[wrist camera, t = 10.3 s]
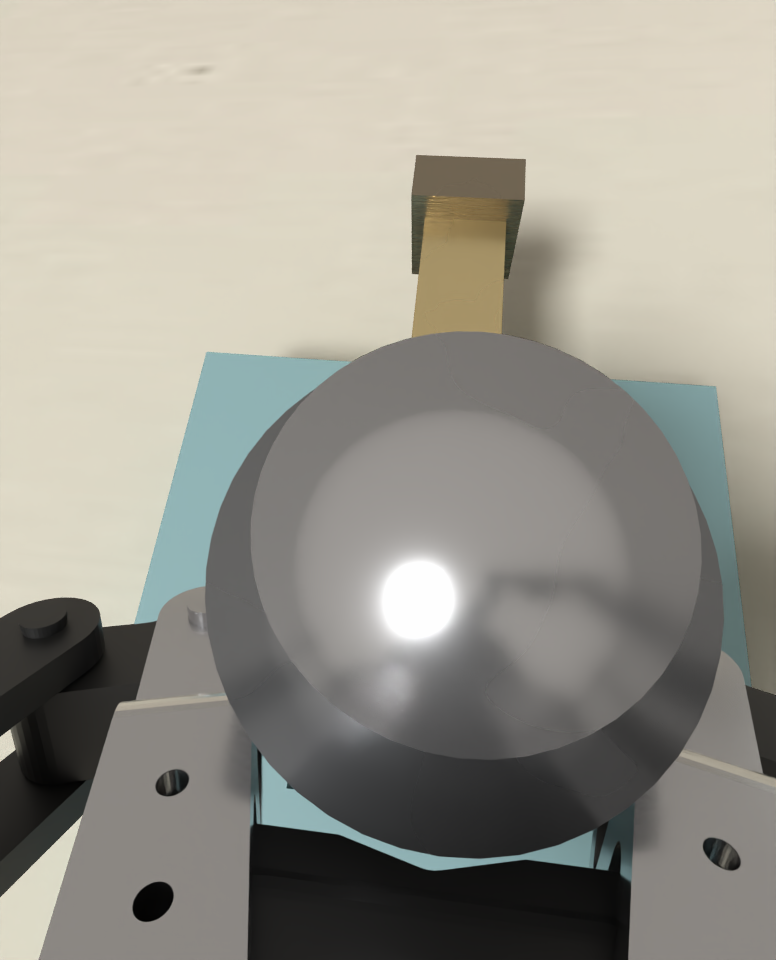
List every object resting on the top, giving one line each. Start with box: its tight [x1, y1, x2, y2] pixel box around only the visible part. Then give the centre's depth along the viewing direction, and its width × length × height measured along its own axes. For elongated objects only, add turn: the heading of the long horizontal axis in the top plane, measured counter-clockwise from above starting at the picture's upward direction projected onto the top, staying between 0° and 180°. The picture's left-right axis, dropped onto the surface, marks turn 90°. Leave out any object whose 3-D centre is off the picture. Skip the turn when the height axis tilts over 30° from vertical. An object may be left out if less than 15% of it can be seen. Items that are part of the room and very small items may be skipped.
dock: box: [134, 352, 751, 871], centre depth 17 cm, size 16×18×4 cm
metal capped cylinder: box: [205, 331, 724, 859], centre depth 10 cm, size 4×4×13 cm
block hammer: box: [412, 155, 526, 338], centre depth 17 cm, size 3×8×3 cm, turn 174°
